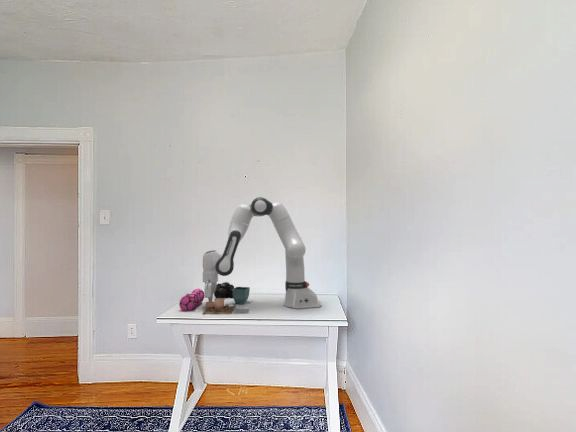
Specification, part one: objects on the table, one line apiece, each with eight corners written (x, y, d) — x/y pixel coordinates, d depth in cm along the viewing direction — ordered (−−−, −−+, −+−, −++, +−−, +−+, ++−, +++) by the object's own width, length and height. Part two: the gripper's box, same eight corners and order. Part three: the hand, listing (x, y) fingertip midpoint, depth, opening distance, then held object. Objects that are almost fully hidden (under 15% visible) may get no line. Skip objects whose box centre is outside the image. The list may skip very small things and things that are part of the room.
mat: (249, 309, 198) (249, 308, 198) (248, 313, 190) (248, 312, 190) (235, 309, 198) (235, 309, 198) (233, 313, 190) (233, 312, 190)
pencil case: (196, 311, 194) (196, 293, 195) (178, 311, 195) (178, 293, 195) (205, 302, 216) (205, 286, 216) (190, 302, 216) (190, 286, 216)
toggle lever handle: (224, 308, 200) (224, 297, 200) (223, 310, 195) (223, 300, 195) (206, 308, 199) (206, 298, 199) (205, 311, 194) (205, 300, 194)
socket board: (234, 306, 206) (234, 303, 206) (232, 313, 190) (232, 310, 190) (207, 307, 205) (207, 304, 205) (202, 314, 189) (202, 311, 189)
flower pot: (245, 304, 209) (245, 289, 210) (231, 304, 211) (231, 289, 211) (250, 301, 218) (250, 287, 218) (236, 300, 220) (236, 286, 220)
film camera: (206, 299, 226) (206, 283, 226) (215, 295, 237) (215, 280, 238) (231, 300, 221) (231, 285, 221) (239, 296, 232) (239, 281, 233)
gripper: (213, 281, 193) (213, 306, 193) (218, 275, 214) (218, 298, 213) (201, 281, 193) (201, 306, 193) (207, 275, 213) (208, 298, 213)
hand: (210, 302), depth 203 cm, fingers closed
